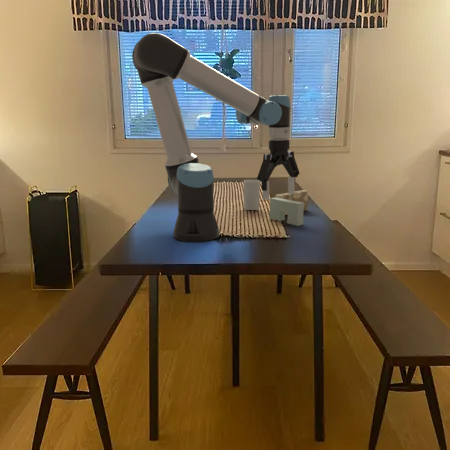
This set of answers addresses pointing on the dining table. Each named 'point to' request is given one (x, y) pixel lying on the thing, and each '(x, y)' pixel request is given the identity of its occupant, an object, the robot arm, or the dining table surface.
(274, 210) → the grey-green block
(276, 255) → the dining table surface
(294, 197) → the u-shaped wooden block
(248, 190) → the mug
